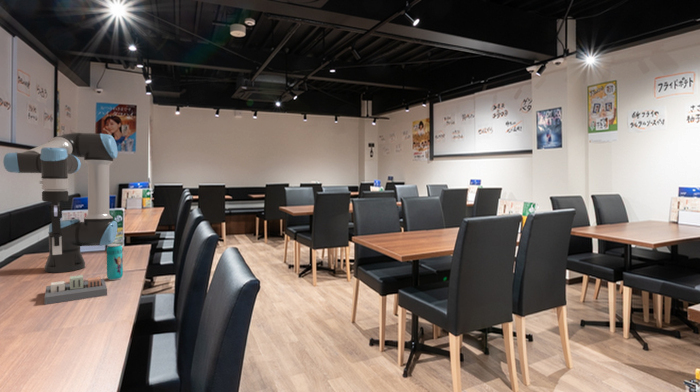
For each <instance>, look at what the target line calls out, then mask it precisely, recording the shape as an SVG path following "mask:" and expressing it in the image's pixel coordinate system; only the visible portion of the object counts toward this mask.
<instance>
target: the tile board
mask: <svg viewBox="0 0 700 392" xmlns="http://www.w3.org/2000/svg"><path fill="white" fill-rule="evenodd" d="M45 287H46V288H45V292H44V293H45V294H44V298H43V299H44V305H53V304H59V303H64V302H65V303H66V302H73V301H78V300H84V299H85V300H86V299H91V298H98V297H105V296H108V287H107V284H106V282H105V279H104V278H101V286H96V287H89V288H88V280H85V281H84V280H83V288H79V289H71V290H70V282H69V283H65V291H59V292H52V293H51V285H46V286H45Z"/></svg>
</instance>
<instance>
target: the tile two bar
mask: <svg viewBox="0 0 700 392" xmlns="http://www.w3.org/2000/svg"><path fill="white" fill-rule="evenodd" d="M83 282H84V274H78V275H70V276H69V283H70V290H71V289H79V288H83Z"/></svg>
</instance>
